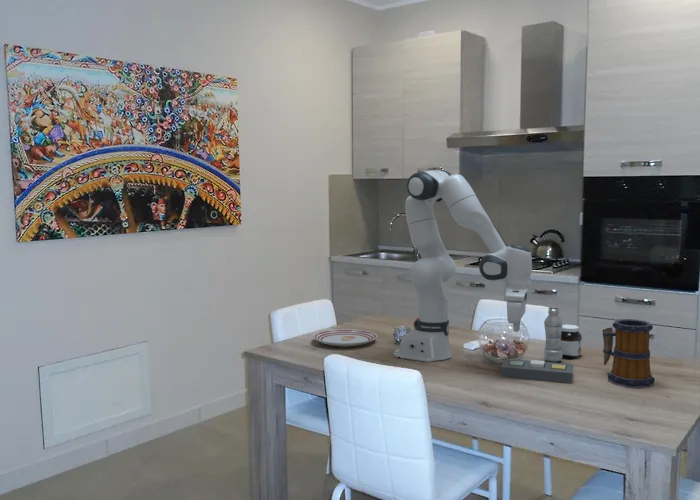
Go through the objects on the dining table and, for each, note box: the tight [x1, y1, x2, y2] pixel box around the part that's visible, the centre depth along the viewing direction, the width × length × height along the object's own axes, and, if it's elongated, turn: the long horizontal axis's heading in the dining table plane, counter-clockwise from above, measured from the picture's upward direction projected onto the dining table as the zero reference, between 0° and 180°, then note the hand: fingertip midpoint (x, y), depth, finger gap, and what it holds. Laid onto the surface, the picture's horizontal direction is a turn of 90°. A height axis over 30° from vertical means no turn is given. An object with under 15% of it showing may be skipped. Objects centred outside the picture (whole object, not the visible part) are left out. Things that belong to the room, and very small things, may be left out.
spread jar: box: [561, 324, 583, 360], centre depth 242 cm, size 12×11×12 cm
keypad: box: [500, 358, 574, 384], centre depth 217 cm, size 23×11×4 cm, turn 69°
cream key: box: [530, 359, 546, 368], centre depth 217 cm, size 4×4×2 cm
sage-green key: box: [509, 361, 524, 366], centre depth 219 cm, size 4×4×2 cm
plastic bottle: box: [543, 307, 564, 363], centre depth 233 cm, size 6×7×20 cm
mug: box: [602, 318, 656, 390], centre depth 210 cm, size 19×14×20 cm
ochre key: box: [552, 364, 566, 370], centre depth 214 cm, size 4×4×2 cm
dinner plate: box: [312, 328, 378, 348], centre depth 268 cm, size 28×27×3 cm
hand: (516, 330), depth 220 cm, fingers closed
